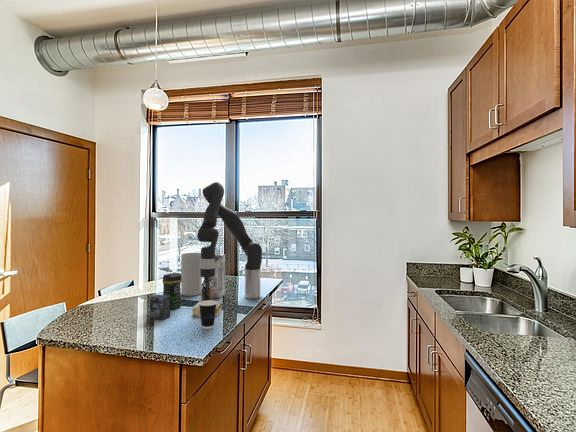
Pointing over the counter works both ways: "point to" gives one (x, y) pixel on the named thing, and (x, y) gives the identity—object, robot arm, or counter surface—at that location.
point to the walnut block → (209, 294)
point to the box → (159, 307)
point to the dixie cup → (207, 313)
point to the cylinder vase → (191, 274)
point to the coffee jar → (172, 289)
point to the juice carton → (219, 276)
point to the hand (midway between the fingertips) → (207, 300)
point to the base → (197, 309)
